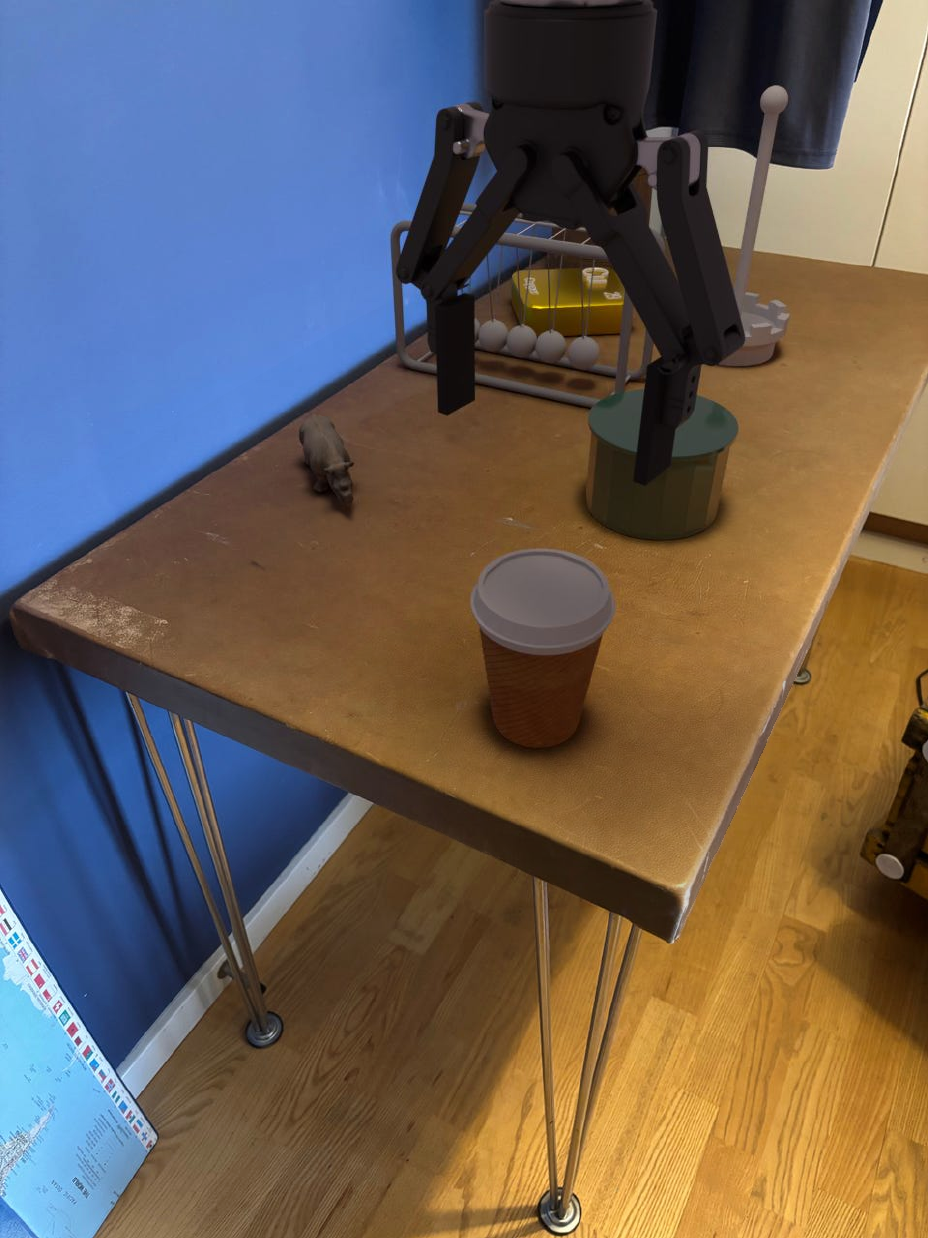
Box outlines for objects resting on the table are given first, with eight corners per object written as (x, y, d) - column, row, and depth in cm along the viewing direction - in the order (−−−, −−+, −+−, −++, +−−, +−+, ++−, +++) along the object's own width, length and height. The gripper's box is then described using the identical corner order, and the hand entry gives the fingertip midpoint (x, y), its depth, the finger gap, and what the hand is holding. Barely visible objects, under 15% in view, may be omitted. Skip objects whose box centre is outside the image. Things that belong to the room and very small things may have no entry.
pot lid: (761, 425, 85) (772, 373, 82) (692, 483, 77) (702, 429, 74) (634, 387, 92) (640, 337, 89) (558, 437, 84) (562, 385, 80)
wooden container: (655, 260, 147) (674, 106, 133) (626, 289, 137) (643, 125, 123) (569, 248, 152) (579, 99, 138) (535, 275, 142) (541, 116, 128)
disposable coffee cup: (457, 753, 64) (454, 620, 56) (486, 664, 71) (487, 536, 64) (592, 776, 62) (608, 642, 55) (608, 683, 69) (624, 553, 62)
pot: (738, 498, 90) (755, 419, 85) (677, 556, 82) (691, 473, 77) (628, 460, 96) (637, 384, 91) (561, 510, 89) (566, 431, 83)
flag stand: (788, 371, 113) (851, 96, 94) (682, 367, 114) (722, 95, 96) (773, 331, 123) (826, 76, 104) (675, 328, 125) (710, 75, 106)
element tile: (509, 299, 134) (509, 266, 131) (609, 295, 135) (612, 262, 132) (524, 339, 122) (525, 303, 119) (634, 333, 123) (638, 298, 120)
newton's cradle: (650, 381, 111) (669, 229, 100) (620, 415, 104) (637, 255, 93) (436, 338, 122) (432, 197, 111) (395, 367, 115) (387, 219, 104)
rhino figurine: (329, 526, 87) (322, 471, 83) (297, 460, 97) (289, 408, 93) (370, 518, 88) (366, 462, 84) (334, 453, 98) (329, 401, 94)
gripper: (306, -12, 43) (347, 403, 57) (817, 18, 31) (716, 539, 44) (411, -23, 48) (426, 363, 61) (892, 0, 35) (780, 478, 49)
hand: (548, 438), depth 53 cm, fingers open, 13 cm apart
